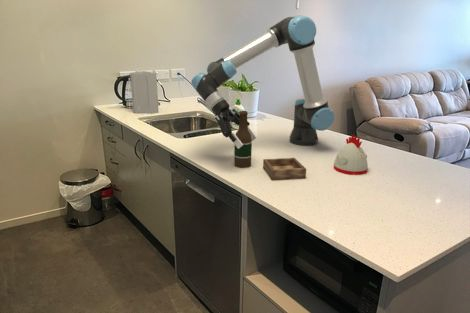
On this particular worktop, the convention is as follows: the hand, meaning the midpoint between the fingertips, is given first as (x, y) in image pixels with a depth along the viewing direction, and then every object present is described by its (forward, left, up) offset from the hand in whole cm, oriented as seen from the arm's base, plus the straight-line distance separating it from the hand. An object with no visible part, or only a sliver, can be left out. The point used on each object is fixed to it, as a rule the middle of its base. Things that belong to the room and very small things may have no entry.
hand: (248, 143), depth 155 cm
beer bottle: (+2, -2, -11) cm, 11 cm away
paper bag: (+51, -124, -11) cm, 134 cm away
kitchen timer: (-43, +10, -11) cm, 46 cm away
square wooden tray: (-13, +10, -10) cm, 20 cm away
